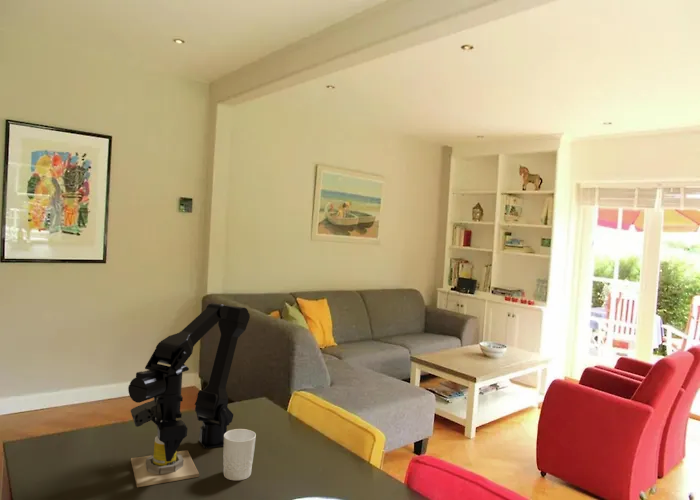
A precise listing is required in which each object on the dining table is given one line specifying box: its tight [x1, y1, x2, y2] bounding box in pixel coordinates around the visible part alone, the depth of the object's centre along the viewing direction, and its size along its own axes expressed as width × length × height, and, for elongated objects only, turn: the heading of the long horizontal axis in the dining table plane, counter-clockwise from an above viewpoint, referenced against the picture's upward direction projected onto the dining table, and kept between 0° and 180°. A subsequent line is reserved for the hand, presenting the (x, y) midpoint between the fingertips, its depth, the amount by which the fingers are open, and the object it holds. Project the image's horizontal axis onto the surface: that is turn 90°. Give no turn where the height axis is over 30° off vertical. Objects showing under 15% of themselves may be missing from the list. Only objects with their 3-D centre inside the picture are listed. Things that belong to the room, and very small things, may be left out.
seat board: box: [130, 449, 200, 488], centre depth 124 cm, size 14×14×2 cm
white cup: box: [222, 428, 257, 481], centre depth 124 cm, size 8×8×10 cm
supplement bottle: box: [153, 434, 178, 466], centre depth 124 cm, size 5×5×10 cm
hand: (165, 453), depth 124 cm, fingers open, 9 cm apart
